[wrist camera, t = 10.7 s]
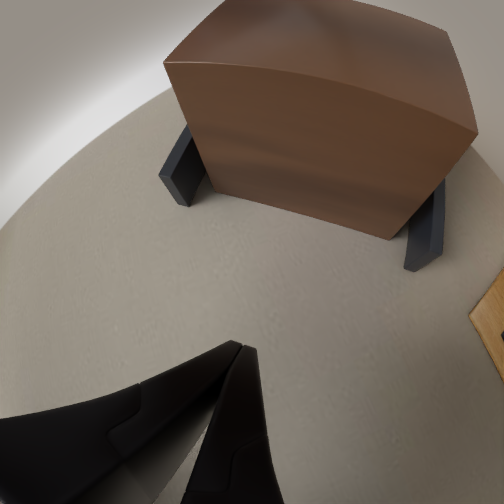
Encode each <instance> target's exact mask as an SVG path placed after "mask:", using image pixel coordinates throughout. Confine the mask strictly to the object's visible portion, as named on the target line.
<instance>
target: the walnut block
mask: <svg viewBox="0 0 504 504" xmlns="http://www.w3.org/2000/svg"><path fill="white" fill-rule="evenodd" d="M163 64H164V67H165V69H166V72H167V74H168V77H169V79H170V82H171V84H172V87H173V89H174V92H175V94H176V97H177V99H178V102H179V104H180V107H181V109H182V112H183V114H184V117H185V119H186V122H187V124H188V127H189V129H190V132H191V134H192V137H193V139H194V141H195V144H196V146H197V149H198V151H199V154H200V156H201V159H202V161H203V163H204V166H205V168H206V171H207V173H208V176H209V178H210V181H211V183H212V185H213V188H214V190H215V192H218V193H222V194H226V195H230V196H234V197H238V198H242V199H246V200H250V201H254V202H258V203H262V204H266V205H270V206H273V207H277V208H281V209H285V210H288V211H292V212H296V213H299V214H303V215H306V216H310V217H313V218H317V219H320V220H324V221H327V222H331V223H334V224H337V225H341V226H344V227H347V228H351V229H354V230H357V231H361V232H364V233H367V234H370V235H373V236H377V237H380V238H383V239H386V240H390V239H391V238H392V237H393V236H394V235H395V234H396V233H397V232H398V231H399V230H400V228H401V227H402V226H403V225H404V224H405V223H406V222H407V221H408V220H409V219H410V217H411V216H412V215H413V214H414V213H415V212H416V211H417V210H418V208H419V207H420V206H421V205H422V204H423V203H424V202H425V200H426V199H427V198H428V197H429V196H430V195H431V193H432V192H433V191H434V190H435V189H436V188H437V186H438V185H439V184H440V183H441V182H442V180H443V179H444V178H445V177H446V175H447V174H448V173H449V172H450V170H451V169H452V168H453V167H454V165H455V164H456V163H457V162H458V160H459V159H460V158H461V157H462V155H463V154H464V153H465V151H466V150H467V149H468V147H469V146H470V145H471V143H472V142H473V141H474V139H475V138H476V136H477V135H478V129H477V124H476V120H475V115H474V111H473V107H472V104H471V100H470V96H469V93H468V89H467V86H466V83H465V79H464V76H463V73H462V70H461V67H460V65H459V62H458V59H457V57H456V54H455V51H454V48H453V46H452V44H451V41H450V39H449V36H448V34H447V32H446V31H444V30H442V29H439V28H437V27H435V26H432V25H430V24H427V23H425V22H422V21H420V20H417V19H414V18H411V17H409V16H406V15H403V14H400V13H397V12H393V11H391V10H387V9H384V8H380V7H377V6H373V5H369V4H366V3H361V2H357V1H353V0H225V1H224V2H223V3H222V4H220V5H219V6H218V7H217V8H216V9H215V10H214V11H213V12H212V13H210V14H209V15H208V16H207V17H206V18H205V19H204V20H203V21H202V22H201V23H200V24H199V25H198V26H197V27H196V28H195V29H194V30H193V31H192V32H191V33H190V34H189V35H188V36H187V37H186V38H185V39H184V40H183V41H182V42H181V43H180V44H179V45H178V46H177V47H176V48H175V49H174V50H173V52H172V53H171V54H170V55H169V56H168V57H167V58H166V59H165V61H164V62H163Z"/></svg>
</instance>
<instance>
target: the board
mask: <svg viewBox="0 0 504 504" xmlns="http://www.w3.org/2000/svg"><path fill="white" fill-rule="evenodd" d="M468 316H469V318H470V320H471V321H472V323H473V325H474V326H475V328H476V330H477V332H478V333H479V335H480V337H481V339H482V341H483V343H484V344H485V346H486V348H487V350H488V352H489V354H490V356H491V358H492V360H493V362H494V364H495V366H496V368H497V370H498V372H499V374H500V376H501V378H502V381H503V383H504V267H503V269H502V270H501V272H500V273H499V275H498V276H497V278H496V279H495V281H494V282H493V283H492V285H491V286H490V287H489V289H488V290H487V292H486V293H485V294H484V296H483V297H482V298H481V299H480V301H479V302H478V303H477V305H476V306H475V307H474V308H473V310H472V311H471V312H470V313H469V315H468Z"/></svg>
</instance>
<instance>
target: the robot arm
mask: <svg viewBox="0 0 504 504" xmlns="http://www.w3.org/2000/svg"><path fill="white" fill-rule="evenodd" d="M209 422H210V423H209ZM208 424H209V426H208V429H207V431H206V434H205V437H204V440H203V443H202V446H201V448H200V451H199V454H198V457H197V460H196V462H195V465H194V468H193V471H192V473H191V476H190V479H189V482H188V484H187V487H186V490H185V491H186V492H185V493H184V495H183V498H182V501H181V503H180V504H284V501H283V498H282V495H281V492H280V488H279V485H278V482H277V479H276V475H275V471H274V467H273V463H272V458H271V452H270V446H269V439H268V435H267V426H266V419H265V411H264V403H263V396H262V388H261V380H260V372H259V364H258V356H257V350H256V348H253V347H250V346H247V345H244V346H243V345H242V344H241V343H238V342H235V341H233V340H229V341H227V342H225V343H223V344H221V345H219V346H217V347H215V348H213V349H211V350H209V351H207V352H205V353H203V354H201V355H199V356H197V357H195V358H193V359H191V360H189V361H187V362H184V363H182V364H180V365H178V366H176V367H174V368H172V369H169V370H167V371H165V372H163V373H161V374H158V375H156V376H154V377H152V378H149V379H147V380H145V381H143V382H141V383H140V384H139V383H137V384H135V385H132V386H130V387H128V388H125V389H122V390H120V391H117V392H115V393H112V394H109V395H106V396H103V397H99V398H96V399H92V400H89V401H85V402H81V403H77V404H73V405H69V406H64V407H60V408H56V409H51V410H46V411H42V412H37V413H32V414H26V415H21V416H15V417H9V418H3V419H0V504H152V503H153V502H154V501H155V499H156V498H157V497H158V495H159V494H160V493H161V491H162V490H163V489H164V487H165V486H166V485H167V483H168V482H169V480H170V479H171V478H172V476H173V475H174V473H175V472H176V471H177V469H178V468H179V466H180V465H181V464H182V462H183V461H184V459H185V458H186V456H187V455H188V454H189V452H190V451H191V449H192V448H193V446H194V445H195V443H196V442H197V440H198V439H199V437H200V436H201V434H202V433H203V431H204V430H205V428H206V427H207V425H208Z"/></svg>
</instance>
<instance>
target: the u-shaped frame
mask: <svg viewBox="0 0 504 504" xmlns="http://www.w3.org/2000/svg"><path fill="white" fill-rule="evenodd" d="M205 171H206V168H205V166H204V163H203V161H202V159H201V156H200V154H199V151H198V149H197V146H196V144H195V141H194V139H193V137H192V134H191V132H190V129H189V127H188V124H187V125H186V127H185V128H184V130H183V132H182V133H181V135H180V137H179V139H178V140H177V142H176V144H175V146H174V147H173V149H172V151H171V153H170V154H169V156H168V158H167V160H166V162H165V164H164V165H163V167H162V169H161V171H160V173H159V175H158V176H159V177H160V179H161V180H162V182H163V183H164V184H165V186H166V187H167V189H168V190H169V192H170V193H171V195H172V196H173V198H174V199H175V201H176V202H177V203H178V204H179V205H183V206H187V207H189V205H190V203H191V201H192V199H193V196H194V194H195V192H196V190H197V188H198V185H199V183H200V181H201V179H202V177H203V175H204V173H205ZM444 220H445V178H444V179H443V180H442V182H441V183H440V184H439V185H438V186H437V188H436V189H435V190H434V191H433V192H432V193H431V195H430V196H429V197H428V198H427V199H426V200H425V202H424V203H423V204H422V205H421V206H420V207H419V208H418V210H417V211H416V212H415V213H414V214H413V215H412V216H411V218H410V228H409V236H408V243H407V250H406V257H405V263H404V269H406V270H409V271H412V272H415V271H417V270H419V269H420V268H422V267H423V266H425V265H427V264H428V263H430V262H431V261H433V260H434V259H436V258H438V257H439V256H441V255H442V250H443V238H444Z"/></svg>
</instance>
